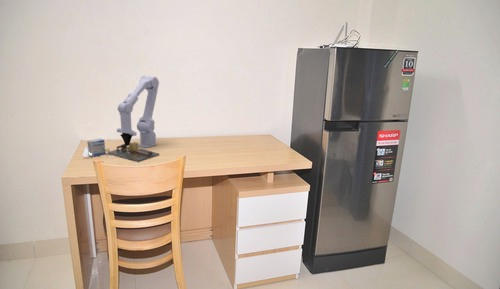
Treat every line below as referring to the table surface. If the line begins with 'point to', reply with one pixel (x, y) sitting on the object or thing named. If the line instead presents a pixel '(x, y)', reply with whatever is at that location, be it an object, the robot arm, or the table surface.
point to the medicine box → (96, 147)
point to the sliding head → (132, 147)
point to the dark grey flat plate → (132, 154)
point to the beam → (134, 151)
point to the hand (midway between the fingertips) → (127, 145)
